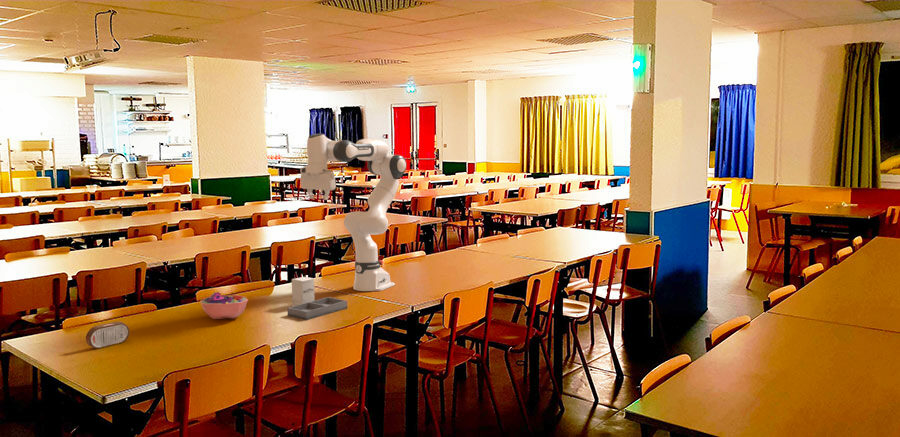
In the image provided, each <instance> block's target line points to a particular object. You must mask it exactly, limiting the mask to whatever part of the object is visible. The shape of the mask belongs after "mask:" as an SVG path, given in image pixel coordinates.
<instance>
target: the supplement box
mask: <svg viewBox="0 0 900 437" xmlns="http://www.w3.org/2000/svg"><path fill="white" fill-rule="evenodd" d="M291 299H292V300H291V301H292V304H291V305H292V306H296V305H300V304H304V303H308V302H311V301H315V300H316V299H315V278H313V277H307V276H302V277H297V278H291ZM292 306H291V307H292Z"/></svg>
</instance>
